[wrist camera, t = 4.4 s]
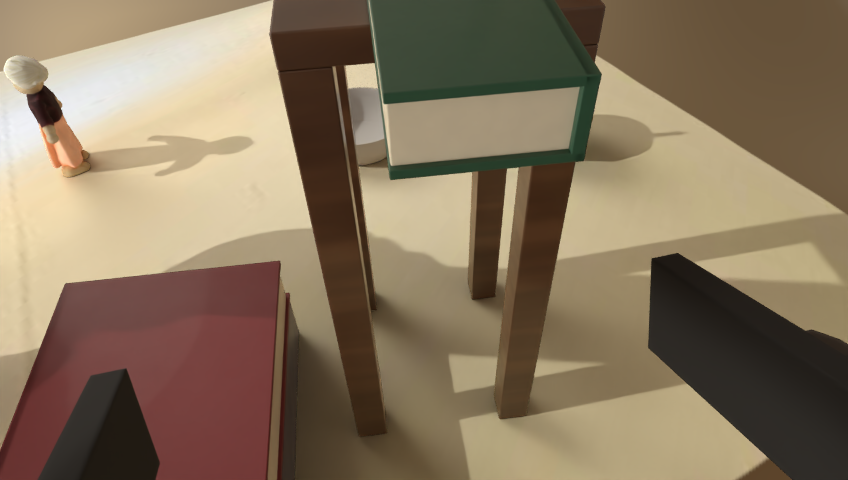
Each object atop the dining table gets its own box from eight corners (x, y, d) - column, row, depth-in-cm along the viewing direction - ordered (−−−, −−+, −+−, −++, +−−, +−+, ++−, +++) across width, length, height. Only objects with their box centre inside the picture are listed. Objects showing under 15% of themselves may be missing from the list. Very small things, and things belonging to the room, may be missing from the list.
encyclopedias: (289, 654, 33) (257, 618, 28) (8, 696, 32) (-86, 667, 27) (299, 326, 49) (279, 260, 43) (110, 348, 48) (64, 283, 42)
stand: (526, 415, 43) (606, 5, 22) (358, 437, 42) (268, 33, 21) (490, 279, 52) (521, -106, 31) (351, 294, 51) (283, -90, 30)
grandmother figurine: (50, 154, 66) (-12, 47, 57) (86, 142, 68) (31, 36, 59) (63, 192, 62) (-2, 82, 53) (102, 178, 63) (45, 69, 54)
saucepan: (290, 146, 66) (284, 117, 63) (399, 77, 76) (397, 49, 73) (361, 185, 61) (357, 155, 58) (467, 107, 71) (468, 77, 68)
